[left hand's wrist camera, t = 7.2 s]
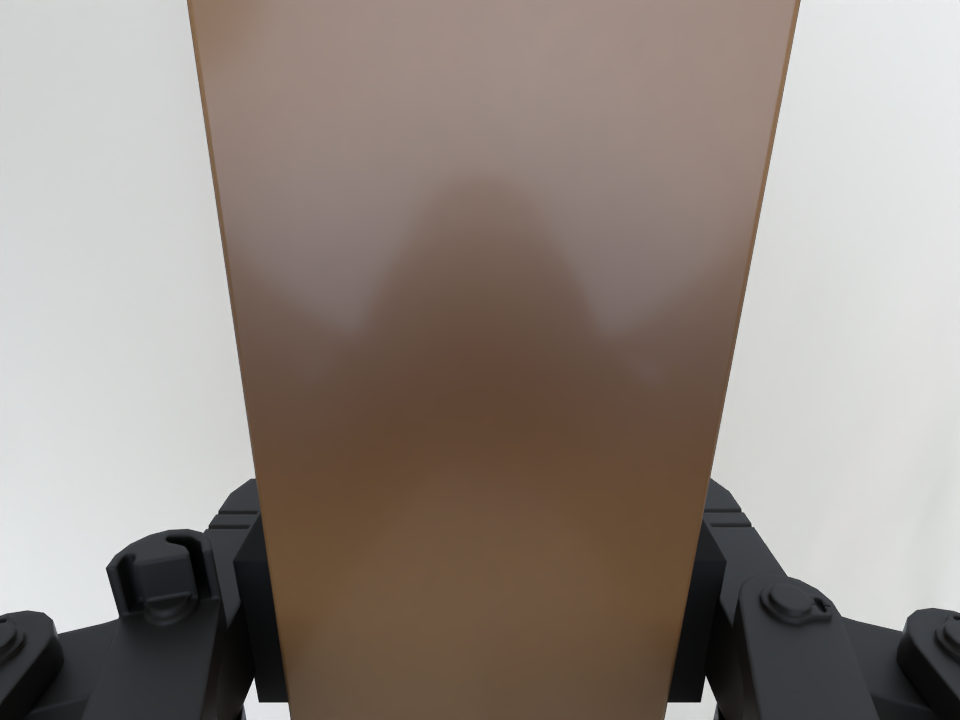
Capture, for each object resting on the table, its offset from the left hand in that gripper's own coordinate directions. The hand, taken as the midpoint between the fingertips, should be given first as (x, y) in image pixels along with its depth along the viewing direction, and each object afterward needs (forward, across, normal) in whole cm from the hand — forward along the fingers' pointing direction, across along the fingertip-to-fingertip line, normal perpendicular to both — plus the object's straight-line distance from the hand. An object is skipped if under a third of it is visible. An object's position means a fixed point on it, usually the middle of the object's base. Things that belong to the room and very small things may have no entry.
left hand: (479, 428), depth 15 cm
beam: (0, 0, -21) cm, 21 cm away
